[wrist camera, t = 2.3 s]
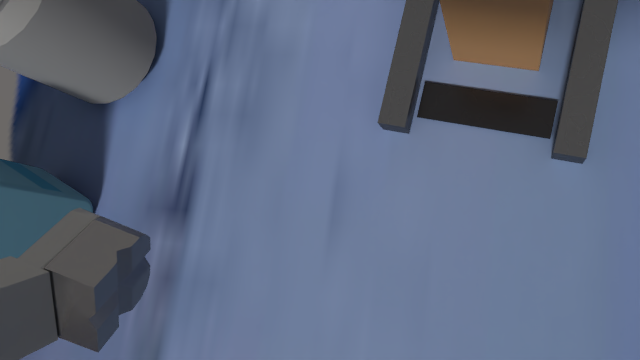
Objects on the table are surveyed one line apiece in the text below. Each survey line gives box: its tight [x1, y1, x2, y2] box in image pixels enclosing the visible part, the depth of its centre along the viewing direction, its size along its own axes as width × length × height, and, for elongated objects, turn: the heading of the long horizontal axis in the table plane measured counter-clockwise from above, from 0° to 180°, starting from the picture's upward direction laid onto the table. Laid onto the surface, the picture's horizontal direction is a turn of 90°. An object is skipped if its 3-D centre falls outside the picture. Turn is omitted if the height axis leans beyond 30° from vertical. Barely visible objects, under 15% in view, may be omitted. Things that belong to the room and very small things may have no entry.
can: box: [0, 0, 157, 104], centre depth 34 cm, size 8×8×12 cm
